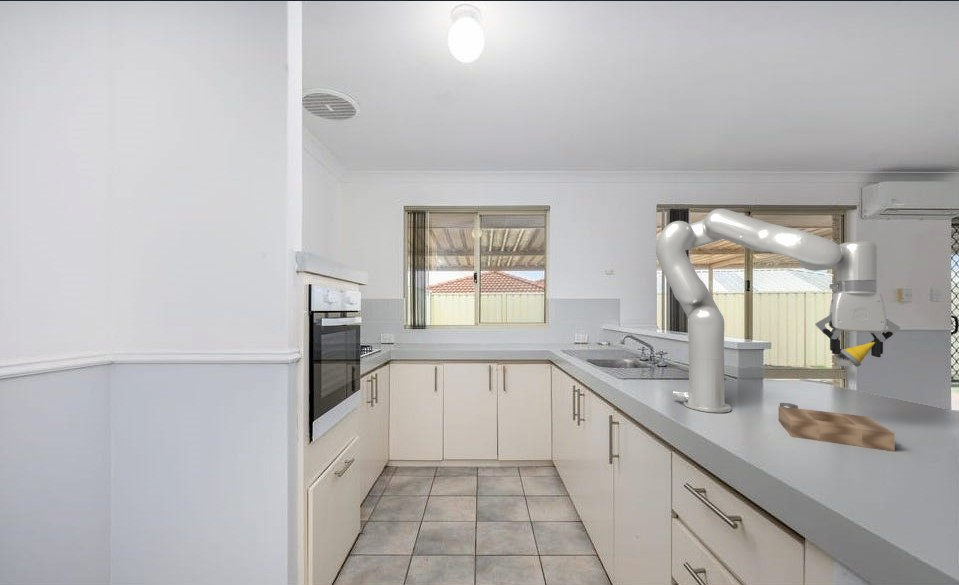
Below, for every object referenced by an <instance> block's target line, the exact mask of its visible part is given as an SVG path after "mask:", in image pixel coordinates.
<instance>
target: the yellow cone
mask: <svg viewBox="0 0 959 585" xmlns="http://www.w3.org/2000/svg"><path fill="white" fill-rule="evenodd" d="M871 342H872V341H871ZM871 342H868V343H864V344H860V345H855V346H852V347H847V348H841V347H840V354H839V355H838V354H837V355H836V356H835V358H836V360H837V364H836V365H837V366H842V367H852V366H854V367H860V366H861V365H862V361H863V360H864V358H865V357H866V356H867V355H868V353H869V352H870V351H871V348H872V346H873V345H874V344H875V342H872V343H871Z"/></svg>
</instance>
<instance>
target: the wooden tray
mask: <svg viewBox="0 0 959 585" xmlns="http://www.w3.org/2000/svg"><path fill="white" fill-rule="evenodd" d="M778 422H779V424H781V426H782V428H784V430H785V431H786V432H787V433H788V435H790V438H791V437H792V438H800V439H806V440H813V441H822V442H827V443H834V444H839V445H840V444H841V445H849V446H856V447H863V448H869V449H876V450H884V451H889V452H890V451H891V452H895V450H896V449H895V448H896V446H895V442H896V441H895V432H893V431H891V430H890V429H888V428H887V427H885V426H883V425H882V424H880V423H878V422H877V421H876V420H874V419H872V418H871V417H869V416H866V415H865V416H864V415H858V414H851V413H850V414H847V413H840V412H830V411H824V410H823V411H821V410H814V409H805V408H798V409H797V408H789V407H780V405H779V406H778Z"/></svg>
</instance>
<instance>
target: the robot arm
mask: <svg viewBox="0 0 959 585" xmlns="http://www.w3.org/2000/svg"><path fill="white" fill-rule="evenodd" d="M721 240H725V241H727V242H730V243H733V244H736V245H738V246H741V247H743V248H744V247H745V248H747V249H749V250H752V251H756V252H762V253H771V254H772V253H774V254H778V255H781V256H785V257H789V258H791V259H793V260H797V261H798V262H799V265H800V266H801V267H802V268H803V269H806V270H808V271H811V272H813V271H815V272H816V271H827V270H828V271H829V270H836V282H835V283H830V284H829V290H835V293H833V294H832V297H831V301H830V307H829V312H828V313H829V314H828V315H827V316H826V317H824V318H822V319H821V320H819V321H817V322H815V323H814V324H815V326H816V328H817V329H819V330H820V331H821V332H822V334H824V335H826V337H828V339H829V351H831V353H832V354H833V355H837V356H838V355H839V354H840V349H841V340H840V339H839V336H841V334H842V333H843V331H845V332H847V331H849V332H867V333H869V334H870V335H871V336H872V338H873V340H871V342H870V343H872V342H875V344H874V345H873V346H872V348H871V349H870V352H871V356H872V357H876V358H881V357H882V355H883V354H884V342H886V341H887V340H888V339H890V338H891V337H892V336H893V335H894V334H895V333H896V332H898V331H899V330H901V327H900V326H899V325H898V324H896V323H894V322H893V321H891V320H889V319H888V318H887V315H886V308H885V307H886V306H885V303H884V302H885V301H884V299H883V295H882V294H883V293H878V292H877V291H878V289H877V288H878V287H877V285H878V283H877V280H878V276H877V274H878V271H877V270H878V269H877V268H878V267H877V266H878V264H877V262H878V257H877V256H878V247H877V244H876V243H875V242H873V241H870V240H869V241H868V240H866V241H865V240H859V241H848V242H847V241H846V242H842V243H840V244H838V243H836V242H835V241H833V240H831V239H829V238H825V237H822V236H819V235H817V234H813V233H811V232H807V231H804V230H800V229H797V228H792V227H788V226H783V225H778V224H775V223H770V222H767V221H764V220H761V219H757V218H754V217H750V216H748V215H745V214H742V213H739V212H736V211H733V210H730V209H726V208H715V209H714V210H713V209H712V210H711V211H710V212H709V213H708V214H707V215H706V216H705V217H704V219H701V220H699V221H698V220H697V221H695V222H693V223H688V222H687V221H683V220H675V221H672V222H670V223H669V224H667V225H665V227H664V228H663V229H662V231H661V232H660V234H659V235H658V238H657V240H656V246H655V253H656V254H655V255H656V258H657V262H658V264H659V266H660V269H661V270H662V274H664V277H665V279H666V281H667V283H668V284H669V286H670V289H671V291H672V294H673V296H674V298H675V300H677V301H678V303H679V304H680V306H681V308H682V309H683V312H684V313H685V315H686V317H687V335H688V339H687V340H688V388H687V390H684V391H680V390H673V392H672V394H673V397H674V398H677V399H678V398H679V399H684V400H683V405H684V406H685V407H687V408H689V409H692V410H695V411H700V412H706V413H713V414H714V413H715V414H716V413H717V414H718V413H721V414H724V413H729V412H730V411H731V410H732V407H731V405H730V404H728V403H725V401H726V400H725V319H724V316H723V313H722V312H721V310H720V309H719V307H718V305H717V304H716V301H715V300H714V298H713V297H712V294H711V293H710V291H709V289H708V288H707V285H706V284H705V282H704V281H703V280H702V279H701V277H699V275H698V273H697V272H696V269H695V268H694V267H693V264H692V263H691V260H690V259H689V257H688V254H687V252H686V251H689V250H692V249H695V248H698V247H702V246H706V245H710V244H713V243H715V242H719V241H721ZM826 324H828V326H829V328H831V330H830V329H828V328H827V327H826Z"/></svg>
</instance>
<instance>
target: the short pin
mask: <svg viewBox="0 0 959 585" xmlns="http://www.w3.org/2000/svg"><path fill="white" fill-rule="evenodd" d="M779 406H780V407H789V408H797V409H799V406H798V404H796V403H789V402H780V403H779Z"/></svg>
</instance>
